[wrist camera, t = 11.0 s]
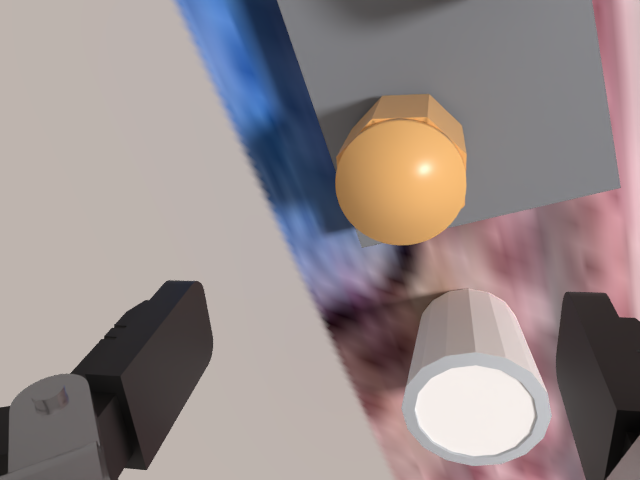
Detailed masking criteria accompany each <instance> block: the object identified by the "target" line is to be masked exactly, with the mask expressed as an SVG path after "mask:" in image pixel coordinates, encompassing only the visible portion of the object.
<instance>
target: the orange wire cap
mask: <svg viewBox="0 0 640 480" xmlns="http://www.w3.org/2000/svg"><path fill="white" fill-rule="evenodd" d="M466 158H467V153H466V147H465V141H464V134H463V128H462V125H461V124H460V123H459V122H458V121H457V120H456V119H455V118H454V117H453V116H452V115H451V114H450V113H448V112H447V111H446V110H445V109H444V108H443V107H442V106H441V105H440V104H439V103H438V102H437V101H436V100H435V99H434V98H433V97H432V96H431V95H430V94H413V95H389V96H382V97H381V98H380V99H379V100H378V101H377V102H376V103H375V104H374V105H373V107H372V108H371V109H370V110H369V111H368V112H367V113H366V114H365V115H364V116H363V117H362V118H361V120H360V121H359V122H358V123H357V124H356V125H355V126H354V127H353V128H352V129H351V131H350V133H349V135H348V137H347V138H346V140H345V142H344V144H343V146H342V147H341V149H340V151H339V153H338V155H337V156H336V160H337V171H336V179H335V188H336V195H337V199H338V202H339V206H340V207H341V209H342V211H343V213H344V215H345V216H346V218H347V219H348V220H349V221H350V223H351V224H352V225H353V226H354V227H355V228H356V229H358V230H359V231H360V232H361V233H363V234H364V235H366V236H368V237H369V238H372V239H374V240H376V241H379V242H382V243H386V244H392V245H411V244H417V243H420V242H424V241H426V240H429V239H431V238H433V237H435V236H436V235H438V234H440V233H441V232H442V231H444V230H445V229H446V228H447V227H448V226H449V225H450V224H451V223H452V222H453V221H454V219H455V218H456V217H457V215H458V213H459V211H460V210H461V209H462V208H463V207H464V206H465V195H466Z"/></svg>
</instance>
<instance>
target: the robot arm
mask: <svg viewBox="0 0 640 480" xmlns="http://www.w3.org/2000/svg"><path fill="white" fill-rule="evenodd" d="M212 351H213V336H212V330H211V325H210V320H209V314H208V309H207V304H206V298H205V294H204V289H203V286H202V284H201V283H200V282H198V281H170V280H169V281H166V282H165V283H164V284H163V285H162V286H161V288H160V289H159V290H158V291H157V292H156V293H155V294H154V296H153V297H152V298H151V299H150V300H145V301H143V302H142V303H140V304H138V305H137V306H135V307H134V308H132V309H130V310H129V311H127V312H126V313H125V314H124V315H123V316H122V317H121V319H120V320H119V321H118V322H117V323H116V324H115V325H114V328H111V329H110V331H109V332H108V333H107V334H106V335H105V336H104V339H101V340H100V341H99V343H98V344H97V345H96V346H95V347H94V348H93V349H92V351H90V353H89V354H88V355H87V356H86V357H85V358H84V359H83V360H82V361H81V362H80V364H79V365H78V366H77V367H76V368H75V369H74V370H73V371H72V372H71V373H70V374H59V375H54V376H51V377H47V378H44V379H42V380H40V381H38V382H35V383H33V384H32V385H30V386H28V387H27V388H25V389H24V390H23V391H22V392H20V393H19V394H18V395H17V397H15V399H14V400H13V402H12V403H11V406H8V407H1V408H0V480H118V477H119V475H120V474H121V472H122V471H123V469H124V468H130V469H140V470H147V469H148V467H149V465H150V464H151V462H152V460H153V458H154V456H155V455H156V453H157V451H158V450H159V448H160V446H161V445H162V443H163V441H164V440H165V438H166V436H167V434H168V433H169V431H170V429H171V427H172V426H173V424H174V422H175V421H176V419H177V417H178V415H179V414H180V412H181V410H182V409H183V407H184V405H185V403H186V402H187V400H188V398H189V397H190V395H191V393H192V391H193V390H194V388H195V386H196V385H197V383H198V381H199V379H200V377H201V376H202V374H203V373H204V371H205V369H206V367H207V366H208V364H209V362H210V359H211V356H212ZM556 373H557V381H558V385H559V389H560V392H561V396H562V399H563V402H564V406H565V409H566V413H567V416H568V420H569V423H570V426H571V430H572V433H573V437H574V440H575V444H576V447H577V450H578V454H579V457H580V461H581V464H582V468H583V471H584V474H585V478H586V480H640V321H638V320H637V319H636V318H621V317H619V316H618V314H617V312H616V310H615V309H614V307H613V305H612V303H611V301H610V299H609V297H608V295H607V294H606V293H593V292H566V293H565V295H564V298H563V303H562V311H561V320H560V328H559V336H558V344H557V353H556Z"/></svg>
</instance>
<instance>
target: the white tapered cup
mask: <svg viewBox="0 0 640 480" xmlns="http://www.w3.org/2000/svg"><path fill="white" fill-rule="evenodd" d="M402 412H403V415H404V418H405V422H406V425H407V428H408V430H409V431H410V432H411V434H412V435H413V436H414V437H415V438H416V439H417V440H418V442H419V443H420V444H421V445H422V446H423V447H424V448H426V449H427V450H429V451H431V452H433V453H435V454H436V455H438V456H440V457H442V458H444V459H445V460H448V461H453V462H458V463H462V464H467V465H471V466H479V465H494V464H502V463H505V462H507V461H510V460H512V459H515V458H517V457H520V456H523V455H525V454H527V453H528V452H529V451H530V450H531V449H532V448H533V447H534V446H535V445H536V444H537V443H538V442H539V441H541V440H542V439H543V438H544V435H545V433H546V430H547V427H548V425H549V422H550V419H551V417H552V415H551V410H550V404H549V398H548V393H547V391H546V388H545V386H544V383H543V381H542V378H541V376H540V374H539V371H538V369H537V366H536V364H535V362H534V359H533V357H532V354H531V352H530V349H529V347H528V345H527V342H526V340H525V337H524V335H523V333H522V330H521V328H520V325H519V323H518V320H517V318H516V316H515V314H514V313H513V312H512V310H511V309H510V308H509V306H508V305H507V304H506V302H505V301H503V300H501V299H500V298H498V297H496V296H494V295H493V294H491V293H489V292H486V291H480V290H475V289H469V288H467V289H461V290H455V291H449V292H447V293H445V294H443V295H441V296H440V297H438V298H436V299H434V300H432V302H431V303H430V304H429V305H428V307H427V308H426V309H425V311H424V312H423V313H422V316H421V321H420V325H419V330H418V334H417V339H416V343H415V348H414V353H413V357H412V362H411V366H410V371H409V375H408V380H407V385H406V389H405V394H404V399H403V403H402Z"/></svg>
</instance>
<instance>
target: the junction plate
mask: <svg viewBox="0 0 640 480" xmlns="http://www.w3.org/2000/svg"><path fill="white" fill-rule="evenodd" d="M277 2H278V5H279V8H280V11H281V13H282V16H283V19H284V22H285V25H286V28H287V31H288V34H289V37H290V40H291V43H292V46H293V48H294V51H295V54H296V57H297V60H298V63H299V66H300V69H301V72H302V75H303V78H304V80H305V83H306V86H307V89H308V92H309V95H310V98H311V101H312V104H313V107H314V110H315V112H316V115H317V118H318V121H319V124H320V127H321V130H322V133H323V136H324V139H325V142H326V144H327V147H328V150H329V153H330V156H331V159H332V162H333V165H334V168H335V171H337V160H336V156H337V155H338V153H339V151H340V149H341V147H342V146H343V144H344V142H345V140H346V138H347V137H348V135H349V133H350V131H351V129H352V128H353V127H354V126H355V125H356V124H357V123H358V122H359V121H360V120H361V118H362V117H363V116H364V115H365V114H366V113H367V112H368V111H369V110H370V109H371V108H372V107H373V105H374V104H375V103H376V102H377V101H378V100H379V99H380V98H381V97H382V96H389V95H413V94H430V95H431V96H432V97H433V98H434V99H435V100H436V101H437V102H438V103H439V104H440V105H441V106H442V107H443V108H444V109H445V110H446V111H447V112H448V113H450V114H451V115H452V116H453V117H454V118H455V119H456V120H457V121H458V122H459V123H460V124H461V125H462V128H463V134H464V141H465V147H466V153H467V158H466V195H465V206H464V207H463V208H462V209H461V210H460V211H459V213H458V215H457V217H456V218H455V219H454V221H453V222H452V223H451V224H450V225H449V226H448V227H447V228H450V227H454V226H458V225H463V224H467V223H471V222H476V221H480V220H484V219H488V218H493V217H497V216H501V215H506V214H510V213H514V212H519V211H523V210H527V209H531V208H536V207H540V206H544V205H549V204H553V203H557V202H562V201H566V200H570V199H575V198H579V197H583V196H587V195H592V194H596V193H600V192H605V191H609V190H613V189H618V188H621V187H620V180H619V174H618V167H617V161H616V154H615V148H614V141H613V135H612V128H611V122H610V115H609V108H608V102H607V95H606V89H605V82H604V76H603V69H602V63H601V56H600V50H599V43H598V37H597V30H596V24H595V17H594V11H593V4H592V0H277ZM355 229H356V228H355ZM356 232H357V235H358V238H359V241H360V243H361V246H362V248H364V247H368V246H372V245H377V244H381V243H382V242H379V241H376V240H374V239H372V238H369V237H368V236H366V235H364V234H363V233H361V232H360V231H359V230H358V229H356Z"/></svg>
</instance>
